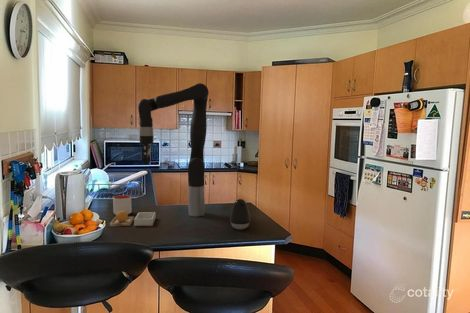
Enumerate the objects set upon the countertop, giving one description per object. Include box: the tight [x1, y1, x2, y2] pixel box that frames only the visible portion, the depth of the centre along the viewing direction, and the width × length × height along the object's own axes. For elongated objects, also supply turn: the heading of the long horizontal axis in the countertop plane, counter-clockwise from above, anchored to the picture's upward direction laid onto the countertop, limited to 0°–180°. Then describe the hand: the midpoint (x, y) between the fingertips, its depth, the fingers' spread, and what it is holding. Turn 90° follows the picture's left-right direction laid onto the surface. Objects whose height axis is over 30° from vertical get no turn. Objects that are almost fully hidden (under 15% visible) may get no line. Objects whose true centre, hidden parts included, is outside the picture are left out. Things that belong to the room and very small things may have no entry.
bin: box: [133, 211, 156, 227], centre depth 178 cm, size 9×14×4 cm
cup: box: [112, 194, 133, 216], centre depth 193 cm, size 10×10×10 cm
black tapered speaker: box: [229, 198, 251, 231], centre depth 168 cm, size 10×10×15 cm
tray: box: [109, 216, 135, 227], centre depth 176 cm, size 10×12×2 cm
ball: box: [115, 211, 129, 222], centre depth 176 cm, size 6×6×6 cm
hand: (146, 163), depth 189 cm, fingers open, 8 cm apart
